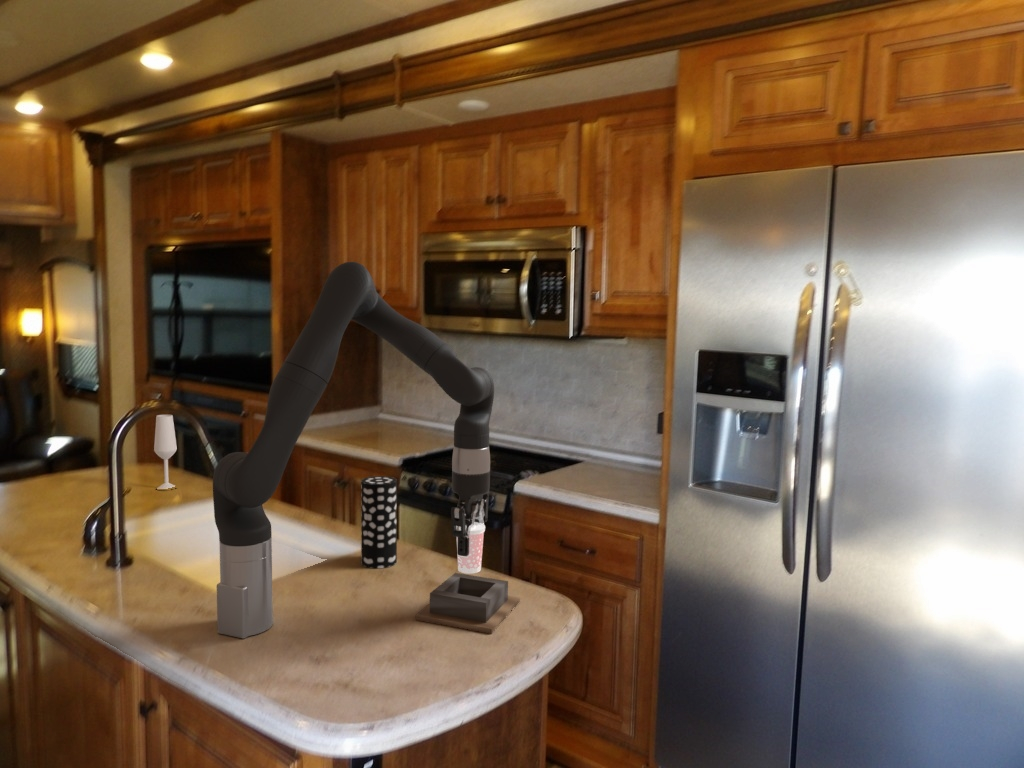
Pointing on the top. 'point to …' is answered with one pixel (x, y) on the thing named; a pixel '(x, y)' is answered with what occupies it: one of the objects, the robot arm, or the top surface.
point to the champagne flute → (165, 443)
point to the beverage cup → (472, 550)
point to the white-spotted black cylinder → (378, 522)
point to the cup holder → (469, 603)
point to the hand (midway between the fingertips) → (470, 549)
